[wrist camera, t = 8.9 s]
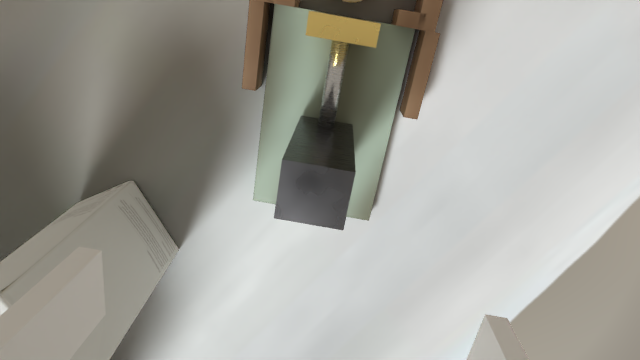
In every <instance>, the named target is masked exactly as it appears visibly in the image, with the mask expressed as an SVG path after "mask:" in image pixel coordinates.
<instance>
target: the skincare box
mask: <svg viewBox="0 0 640 360" xmlns="http://www.w3.org/2000/svg"><path fill="white" fill-rule="evenodd" d="M78 247H85V248H91V249H97V250H102V263H103V279H104V296H105V312H106V314H105V316H104V317H103V318H102V319H101V321H100V322H99V323H98V324H97V326H96V327H95V328H94V330H93V331H92V332H91V333H90V335H89V336H88V337H87V338H86V340H85V341H84V342H83V343H82V345H81V346H80V347H79V348H78V350H77V351H76V352H75V354H74V355H73V356H72V357H71V359H70V360H110V358H111V357H112V355H113V354H114V352H115V350H116V349H117V347H118V346H119V344H120V343H121V341H122V339H123V338H124V336H125V335H126V333H127V331H128V330H129V328H130V327H131V325H132V323H133V322H134V320H135V319H136V317H137V316H138V314H139V312H140V311H141V309H142V308H143V306H144V305H145V303H146V301H147V300H148V298H149V297H150V295H151V293H152V292H153V290H154V289H155V287H156V286H157V284H158V282H159V281H160V279H161V278H162V276H163V275H164V273H165V271H166V270H167V268H168V267H169V265H170V263H171V262H172V260H173V259H174V257H175V256H176V254H177V252H178V251H179V248H178V247H177V246H176V244H175V243H174V241H173V240H172V238H171V237H170V235H169V234H168V232H167V230H166V229H165V227H164V226H163V224H162V223H161V221H160V220H159V218H158V217H157V215H156V214H155V212H154V211H153V209H152V208H151V206H150V205H149V203H148V202H147V200H146V199H145V197H144V196H143V194H142V193H141V191H140V190H139V188H138V187H137V185H136V184H135V182H134V181H128V182H125V183H123V184H120V185H118V186H115V187H113V188H110V189H108V190H106V191H103V192H101V193H99V194H96V195H94V196H92V197H89V198H87V199H85V200H82V201H80V202H78V203H76V204H75V205H74V206H72V207H71V208H70V209H69V210H67V211H66V212H65V213H63V214H62V215H61V216H59V217H58V218H57V219H56V220H54V221H53V222H52V223H50V224H49V225H48V226H46V227H45V228H44V229H43V230H41V231H40V232H39V233H37V234H36V235H35V236H33V237H32V238H31V239H29V240H28V241H27V242H26V243H24V244H23V245H22V246H20V247H19V248H18V249H16V250H15V251H14V252H13V253H11V254H10V255H9V256H7V257H6V258H5V259H4V260H2V261H1V262H0V316H1V315H2V314H3V313H4V312H5V311H6V310H7V309H9V308H10V307H11V306H12V305H13V304H14V303H15V302H17V301H18V300H19V299H20V298H21V297H22V296H23V295H25V294H26V293H27V292H28V291H29V290H30V289H31V288H32V287H34V286H35V285H36V284H37V283H38V282H39V281H40V280H42V279H43V278H44V277H45V276H46V275H47V274H48V273H50V272H51V271H52V270H53V269H54V268H55V267H56V266H57V265H59V264H60V263H61V262H62V261H63V260H64V259H65V258H67V257H68V256H69V255H70V254H71V253H72V252H73V251H75V250H76V249H77V248H78Z"/></svg>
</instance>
